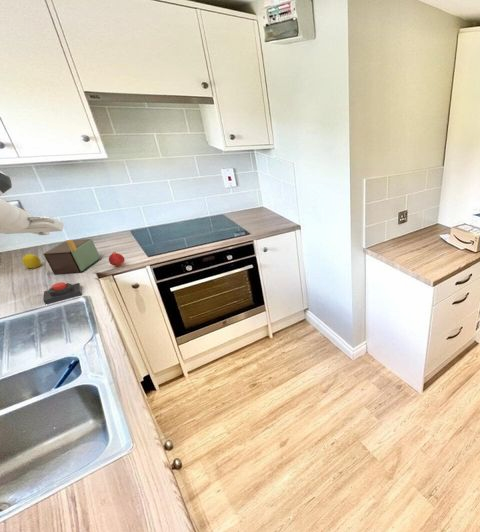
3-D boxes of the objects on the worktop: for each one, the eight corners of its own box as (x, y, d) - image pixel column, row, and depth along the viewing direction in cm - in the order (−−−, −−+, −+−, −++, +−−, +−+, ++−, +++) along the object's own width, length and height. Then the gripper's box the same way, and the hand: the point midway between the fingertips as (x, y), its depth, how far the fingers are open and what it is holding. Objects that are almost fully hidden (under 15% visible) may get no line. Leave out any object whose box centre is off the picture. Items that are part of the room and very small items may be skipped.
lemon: (31, 267, 156) (22, 252, 152) (46, 265, 158) (38, 250, 154) (25, 272, 152) (16, 257, 148) (40, 270, 153) (32, 255, 150)
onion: (112, 270, 155) (105, 255, 152) (111, 266, 159) (105, 251, 155) (127, 266, 159) (121, 252, 155) (126, 262, 162) (120, 248, 159)
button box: (45, 305, 129) (40, 296, 127) (46, 295, 135) (41, 287, 133) (82, 295, 135) (78, 287, 134) (81, 287, 141) (77, 279, 139)
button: (53, 291, 131) (51, 288, 130) (53, 288, 133) (51, 284, 133) (66, 288, 133) (65, 284, 132) (66, 284, 136) (65, 281, 135)
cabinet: (82, 272, 152) (72, 251, 147) (54, 274, 150) (43, 253, 145) (102, 258, 166) (93, 238, 161) (76, 260, 164) (66, 240, 159)
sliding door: (84, 271, 153) (69, 241, 146) (80, 271, 152) (65, 241, 145) (102, 257, 166) (89, 229, 159) (99, 257, 165) (86, 229, 158)
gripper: (48, 210, 125) (75, 225, 137) (-18, 212, 120) (17, 228, 133) (45, 224, 123) (73, 238, 136) (-22, 228, 118) (14, 242, 131)
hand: (45, 233), depth 134 cm, fingers closed
